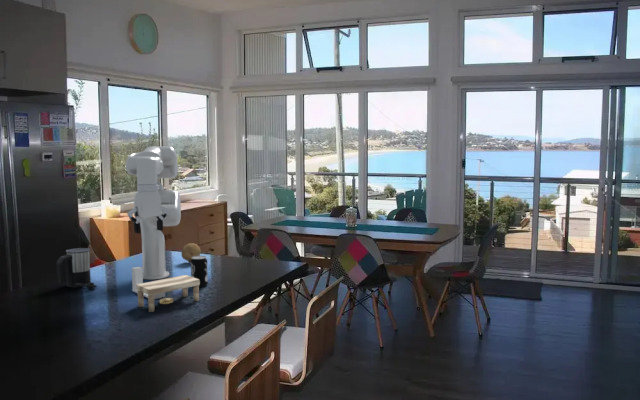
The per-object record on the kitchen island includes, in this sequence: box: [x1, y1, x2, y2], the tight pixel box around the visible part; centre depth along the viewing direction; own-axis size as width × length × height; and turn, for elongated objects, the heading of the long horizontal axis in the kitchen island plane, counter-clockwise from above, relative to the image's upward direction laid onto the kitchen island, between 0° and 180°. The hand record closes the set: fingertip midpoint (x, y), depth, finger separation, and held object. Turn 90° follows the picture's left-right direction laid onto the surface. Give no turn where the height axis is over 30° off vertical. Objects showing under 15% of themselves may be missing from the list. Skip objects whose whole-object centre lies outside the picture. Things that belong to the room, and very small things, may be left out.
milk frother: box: [56, 247, 98, 290], centre depth 219 cm, size 14×16×15 cm
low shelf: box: [136, 274, 200, 313], centre depth 197 cm, size 10×20×8 cm, turn 135°
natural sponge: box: [181, 242, 202, 264], centre depth 261 cm, size 9×9×10 cm
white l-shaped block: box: [131, 266, 166, 300], centre depth 210 cm, size 18×6×9 cm, turn 44°
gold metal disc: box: [158, 297, 174, 305], centre depth 199 cm, size 5×5×1 cm
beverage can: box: [190, 255, 209, 289], centre depth 221 cm, size 7×7×12 cm
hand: (148, 231), depth 214 cm, fingers open, 9 cm apart
